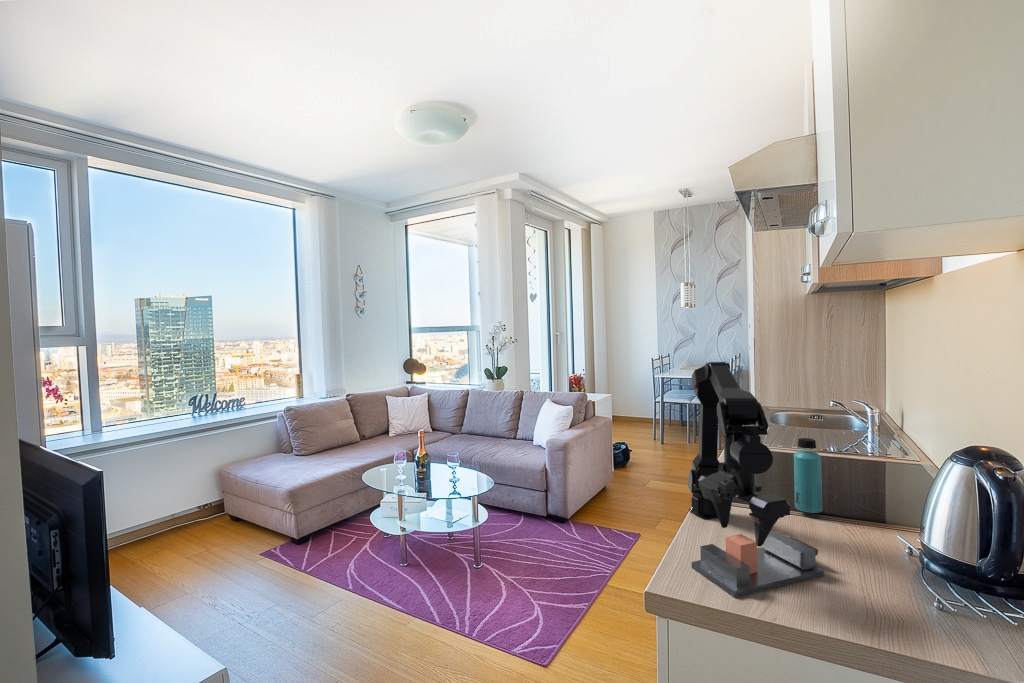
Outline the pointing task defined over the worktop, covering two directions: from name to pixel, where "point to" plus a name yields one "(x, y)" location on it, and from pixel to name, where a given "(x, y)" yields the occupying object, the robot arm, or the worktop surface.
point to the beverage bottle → (807, 478)
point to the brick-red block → (743, 550)
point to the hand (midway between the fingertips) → (741, 536)
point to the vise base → (736, 573)
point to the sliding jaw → (791, 550)
